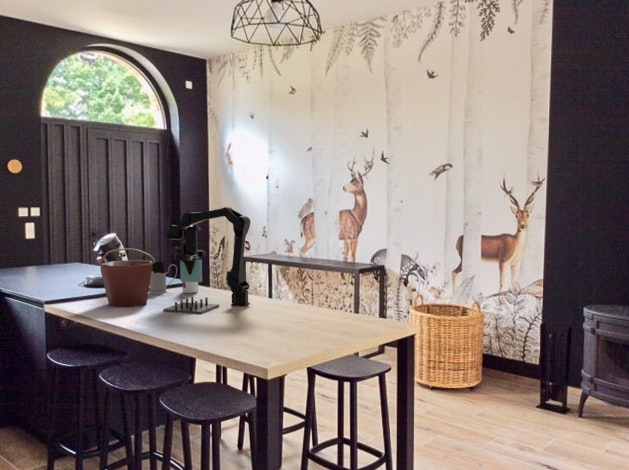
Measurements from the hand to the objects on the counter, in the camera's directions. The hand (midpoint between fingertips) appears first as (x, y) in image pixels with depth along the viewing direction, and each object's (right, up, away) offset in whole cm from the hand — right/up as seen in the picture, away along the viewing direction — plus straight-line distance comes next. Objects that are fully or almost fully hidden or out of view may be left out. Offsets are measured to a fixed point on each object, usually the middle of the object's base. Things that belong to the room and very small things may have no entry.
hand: (191, 274), depth 264 cm
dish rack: (+3, -14, -15) cm, 21 cm away
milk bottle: (-6, -11, +27) cm, 30 cm away
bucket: (-28, -13, -1) cm, 31 cm away
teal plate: (0, -3, 0) cm, 3 cm away
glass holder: (-20, -11, +27) cm, 36 cm away
